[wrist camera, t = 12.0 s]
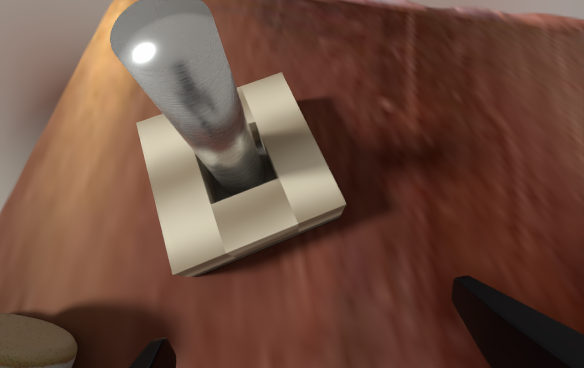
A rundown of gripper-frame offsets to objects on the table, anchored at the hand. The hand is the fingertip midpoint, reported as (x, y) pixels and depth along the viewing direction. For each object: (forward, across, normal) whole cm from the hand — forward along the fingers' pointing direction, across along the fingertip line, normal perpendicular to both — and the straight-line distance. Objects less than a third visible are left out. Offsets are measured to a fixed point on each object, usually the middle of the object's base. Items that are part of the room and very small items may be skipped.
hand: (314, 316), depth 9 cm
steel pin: (+15, +3, +1) cm, 16 cm away
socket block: (+16, +3, +2) cm, 17 cm away
